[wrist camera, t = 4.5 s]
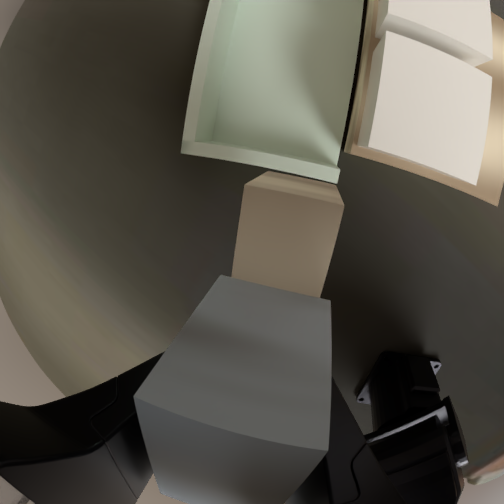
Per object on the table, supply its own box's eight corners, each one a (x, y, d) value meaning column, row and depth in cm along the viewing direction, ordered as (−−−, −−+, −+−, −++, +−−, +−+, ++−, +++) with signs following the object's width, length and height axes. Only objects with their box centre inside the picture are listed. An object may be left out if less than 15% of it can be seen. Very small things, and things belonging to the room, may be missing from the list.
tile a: (447, 175, 13) (476, 185, 10) (356, 145, 14) (367, 146, 11) (462, 86, 11) (492, 77, 8) (372, 52, 12) (386, 30, 9)
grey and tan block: (285, 389, 14) (251, 535, 6) (227, 374, 14) (167, 511, 7) (344, 187, 10) (409, 314, 2) (259, 169, 10) (115, 244, 3)
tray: (333, 176, 19) (337, 183, 15) (202, 150, 20) (180, 153, 17) (365, -28, 12) (371, -52, 9) (242, -42, 13) (229, -65, 10)
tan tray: (469, 193, 16) (497, 206, 13) (343, 151, 18) (350, 153, 14) (488, 39, 11) (514, 26, 8) (368, -11, 13) (376, -37, 9)
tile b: (463, 71, 11) (492, 59, 7) (374, 37, 11) (387, 12, 8) (463, 1, 8) (486, -19, 5) (380, -31, 9) (389, -61, 6)
